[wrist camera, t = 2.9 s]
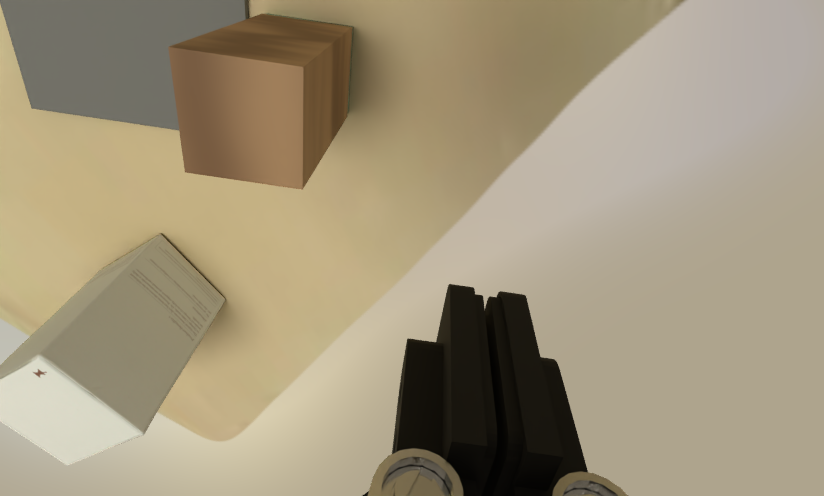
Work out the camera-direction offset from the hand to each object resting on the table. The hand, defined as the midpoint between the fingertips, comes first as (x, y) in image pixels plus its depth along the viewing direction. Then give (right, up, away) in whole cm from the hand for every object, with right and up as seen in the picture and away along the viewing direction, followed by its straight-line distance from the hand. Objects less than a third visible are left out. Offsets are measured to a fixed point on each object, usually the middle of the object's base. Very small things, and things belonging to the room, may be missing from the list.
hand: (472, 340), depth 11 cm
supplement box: (-21, -1, +27) cm, 34 cm away
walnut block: (-7, +13, +17) cm, 23 cm away
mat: (-18, +14, +17) cm, 29 cm away
